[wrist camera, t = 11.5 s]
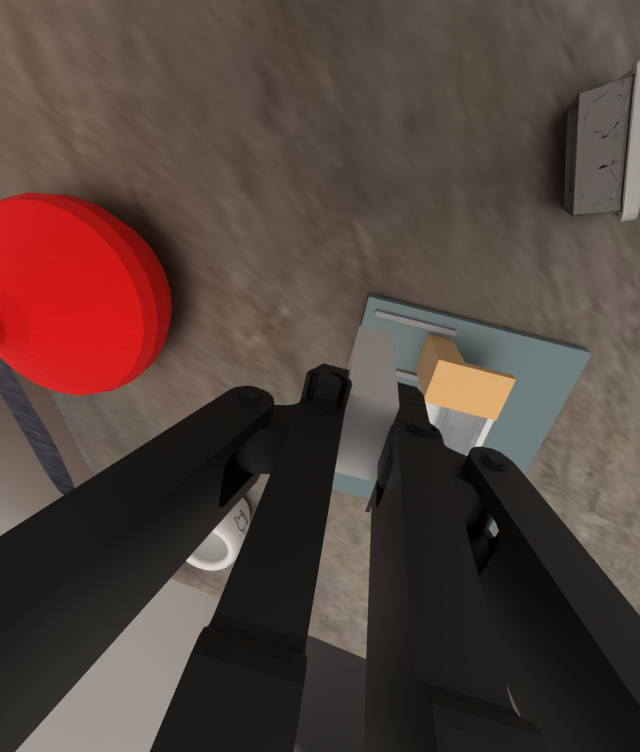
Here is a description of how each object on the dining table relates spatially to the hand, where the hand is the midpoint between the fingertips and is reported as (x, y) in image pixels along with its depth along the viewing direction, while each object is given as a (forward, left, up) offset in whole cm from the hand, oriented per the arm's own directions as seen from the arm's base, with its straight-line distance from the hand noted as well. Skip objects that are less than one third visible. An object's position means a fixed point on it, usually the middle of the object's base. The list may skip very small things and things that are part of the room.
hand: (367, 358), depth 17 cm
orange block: (+6, +10, -22) cm, 25 cm away
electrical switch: (-13, +14, -24) cm, 31 cm away
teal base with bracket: (+14, +11, -24) cm, 30 cm away
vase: (+8, -27, -24) cm, 37 cm away
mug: (+33, -12, -24) cm, 43 cm away
